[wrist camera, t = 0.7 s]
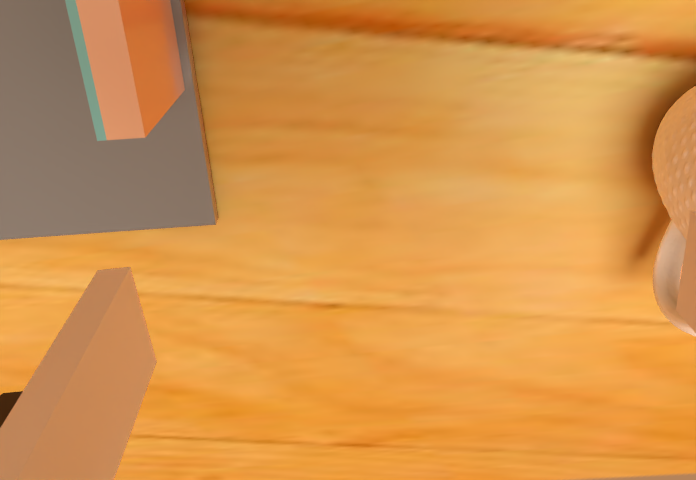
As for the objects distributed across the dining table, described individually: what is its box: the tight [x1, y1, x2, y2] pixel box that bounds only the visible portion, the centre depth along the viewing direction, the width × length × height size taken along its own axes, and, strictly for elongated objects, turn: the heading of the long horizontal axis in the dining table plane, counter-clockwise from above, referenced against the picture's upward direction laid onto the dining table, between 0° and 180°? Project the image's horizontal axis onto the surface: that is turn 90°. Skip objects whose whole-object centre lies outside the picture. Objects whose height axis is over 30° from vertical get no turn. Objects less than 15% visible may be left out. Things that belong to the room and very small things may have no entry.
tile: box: [65, 0, 185, 141], centre depth 30 cm, size 8×2×9 cm, turn 3°
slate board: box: [0, 0, 218, 240], centre depth 34 cm, size 24×14×1 cm, turn 3°
